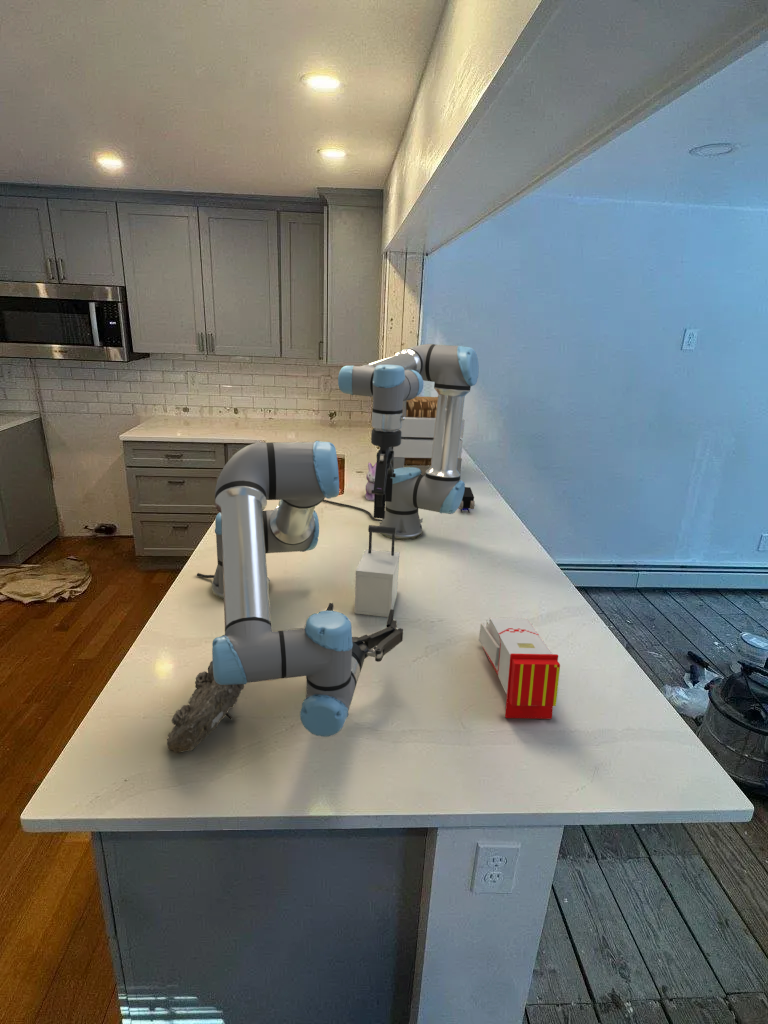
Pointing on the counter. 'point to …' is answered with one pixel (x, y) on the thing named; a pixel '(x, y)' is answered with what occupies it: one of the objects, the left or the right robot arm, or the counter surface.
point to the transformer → (419, 433)
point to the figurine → (370, 481)
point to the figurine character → (467, 500)
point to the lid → (379, 557)
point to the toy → (522, 666)
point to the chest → (375, 594)
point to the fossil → (202, 711)
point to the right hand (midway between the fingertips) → (383, 509)
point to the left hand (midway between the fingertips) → (361, 611)
